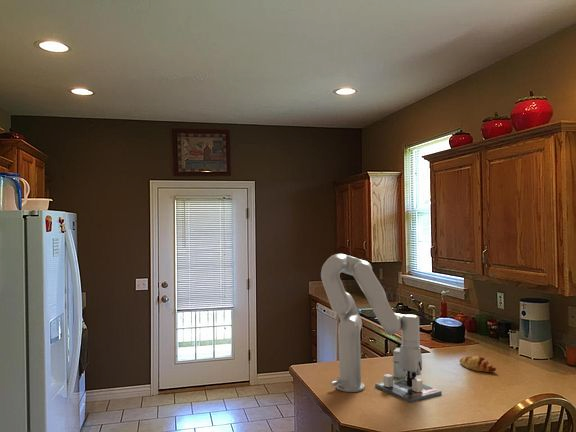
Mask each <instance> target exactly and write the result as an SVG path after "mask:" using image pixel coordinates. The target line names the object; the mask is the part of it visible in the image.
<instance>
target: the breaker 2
mask: <svg viewBox="0 0 576 432" xmlns="http://www.w3.org/2000/svg"><path fill="white" fill-rule="evenodd" d="M422 384H423V379H421V378H417V377H416V378H415V379H412V390H413V391H416V392H420V391H423V386H422Z"/></svg>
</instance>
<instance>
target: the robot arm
mask: <svg viewBox="0 0 576 432" xmlns="http://www.w3.org/2000/svg"><path fill="white" fill-rule="evenodd" d="M320 271H321V272H320V277H321V282H322V286H323V288H324V291H325V293H326V296H327V299H328V302H329V305H330V308H331V310H332V312H334V313H333V314H335V315H337V316H338V318H339V320H340V322H339V323H338V327H337V333H338V348H339V349H338V359H339V377H337V379H336V380H333V381H331V382H330V386H331V387H334V386H336V387H335V388H336V389H337V390H339V391H342V392H346V393H359V392H362V391H364V390H365V386H366V385H365V384H364V383H363V382H362V362H361V361H362V357H361V355H362V354H361V329H362V327H363V321H362V318H361V315H360V312H359V310H358V308H357V305H356V302H355V299H354V298H353V296H352V295H351V294H350V293H349V292H347V291H346V289H345V287H344V284H343V281H342V279H341V277H340V276H341V275H340V274H341V273H344V274H346V275H350V276H353V278H354V279H355V281H356V283H357V284H358V287H359V288H360V290H361V291H362V292H363V294H364V296H365V298H366V300H367V301H368V302H367V303H368V304H369V306H370V307H371V309H372V311H373V313H374V315H375V316H376V319H377V321H378V322H379V324H380V325H381V327H382V329H383V330H384V331H385V332H386V333H387V334H390V335H395V334H398V333H399V332H400V330H401V340H400V341H401V344H400V347H399V348H400V351H399V367H400V368H401V369H402V370H404V371H405V373H406V376H407V386H409V387H412V379H416V378H417V376H421V375H422V373H421V372H422V370H423V358H422V357H423V356H422V350H421V347H420V343H421V342H420V316H418V315H416V314H411V313H410V314H402V313H396V312H394V310H393V309H392V307H391V305H390V303H389V300H388V298H387V297H388V296H387V294H386V291H385V289H384V287H383V286H382V284H381V282H380V281H379V279H378V278H377V276H376V275H375V273H374V271H373V266H372V265H371V263H370V262H368V261H367V260H365V259H364V260H363V259H361V258H357V257H354V256H351V255H348V254H344V253H335V254H332V255H330V257H328V258H327V259H326V261H325V262H324V263H323V265H322V267H321V270H320Z"/></svg>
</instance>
